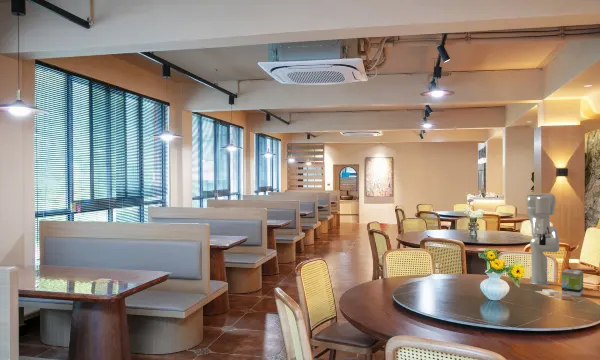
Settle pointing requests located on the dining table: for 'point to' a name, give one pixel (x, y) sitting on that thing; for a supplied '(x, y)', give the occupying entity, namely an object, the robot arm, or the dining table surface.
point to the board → (552, 296)
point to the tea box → (572, 282)
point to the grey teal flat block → (549, 291)
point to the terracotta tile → (562, 296)
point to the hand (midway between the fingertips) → (542, 245)
